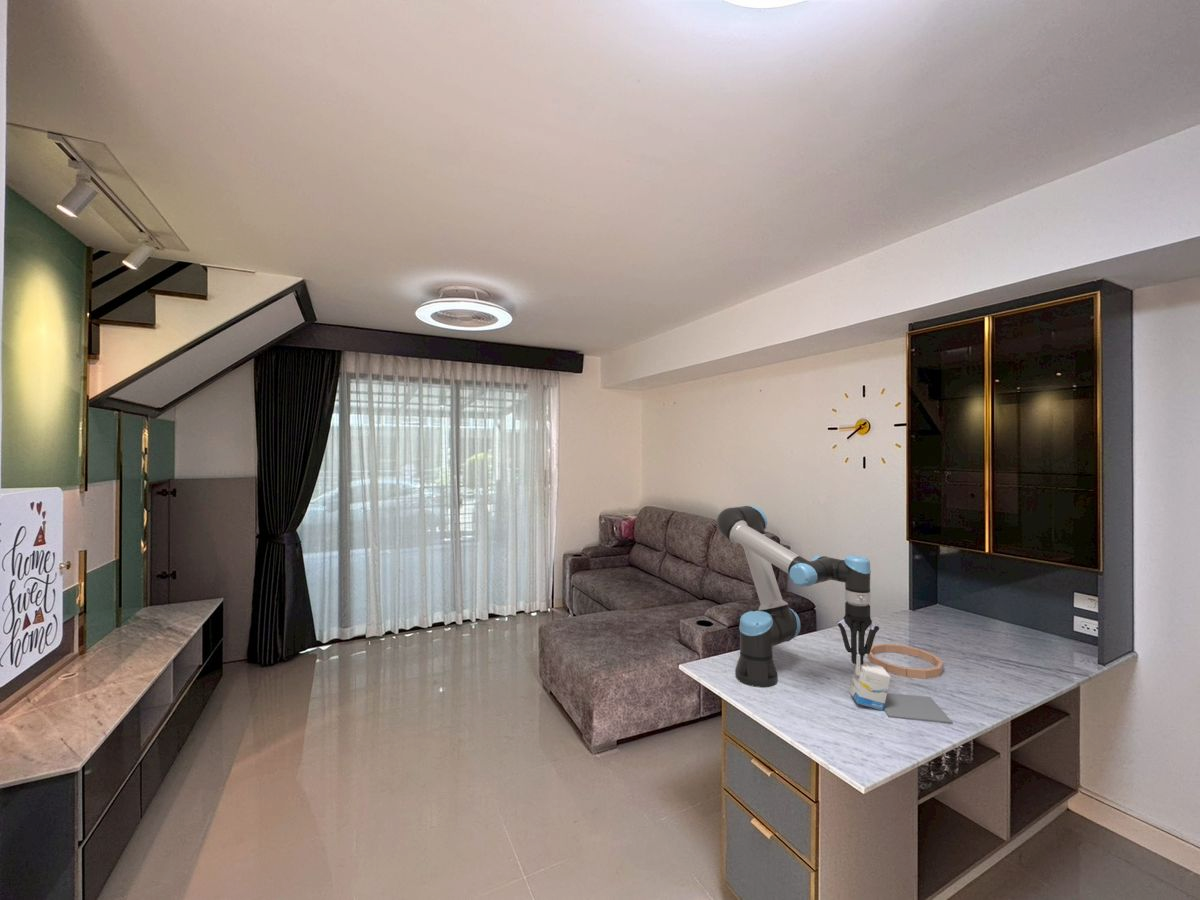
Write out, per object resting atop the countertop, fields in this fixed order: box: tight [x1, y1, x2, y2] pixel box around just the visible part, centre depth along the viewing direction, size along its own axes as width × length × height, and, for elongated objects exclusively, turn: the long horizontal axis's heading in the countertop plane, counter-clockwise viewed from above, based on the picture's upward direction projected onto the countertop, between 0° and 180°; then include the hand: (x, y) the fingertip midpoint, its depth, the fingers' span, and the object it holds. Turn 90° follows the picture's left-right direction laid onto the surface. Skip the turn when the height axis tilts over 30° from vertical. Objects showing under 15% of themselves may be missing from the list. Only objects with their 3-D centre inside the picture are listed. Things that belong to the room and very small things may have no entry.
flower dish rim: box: [866, 643, 944, 680], centre depth 196 cm, size 25×25×3 cm
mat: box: [883, 692, 954, 725], centre depth 163 cm, size 18×16×1 cm
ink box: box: [848, 660, 892, 711], centre depth 166 cm, size 9×8×12 cm
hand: (857, 673), depth 166 cm, fingers closed
